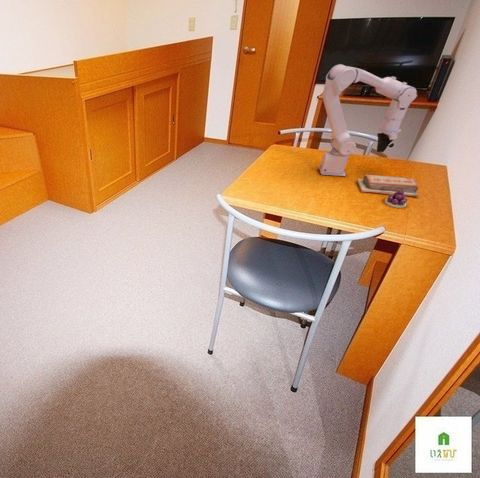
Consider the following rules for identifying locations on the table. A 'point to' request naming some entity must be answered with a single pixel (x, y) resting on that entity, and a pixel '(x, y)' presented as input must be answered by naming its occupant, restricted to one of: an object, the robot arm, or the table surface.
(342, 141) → the robot arm
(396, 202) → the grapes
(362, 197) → the table surface
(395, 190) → the packaged product
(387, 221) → the table surface
